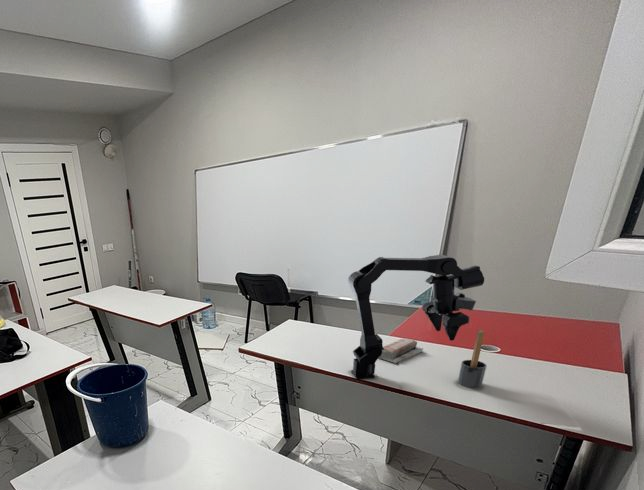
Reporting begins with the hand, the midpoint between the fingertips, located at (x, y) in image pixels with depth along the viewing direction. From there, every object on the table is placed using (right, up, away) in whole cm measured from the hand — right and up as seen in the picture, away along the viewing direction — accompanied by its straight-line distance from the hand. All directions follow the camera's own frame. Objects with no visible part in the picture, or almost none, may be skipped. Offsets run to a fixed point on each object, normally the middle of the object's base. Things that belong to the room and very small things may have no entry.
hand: (444, 335), depth 125 cm
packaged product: (-2, -7, +23) cm, 24 cm away
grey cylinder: (+5, -17, -4) cm, 18 cm away
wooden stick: (+5, -17, -4) cm, 18 cm away
